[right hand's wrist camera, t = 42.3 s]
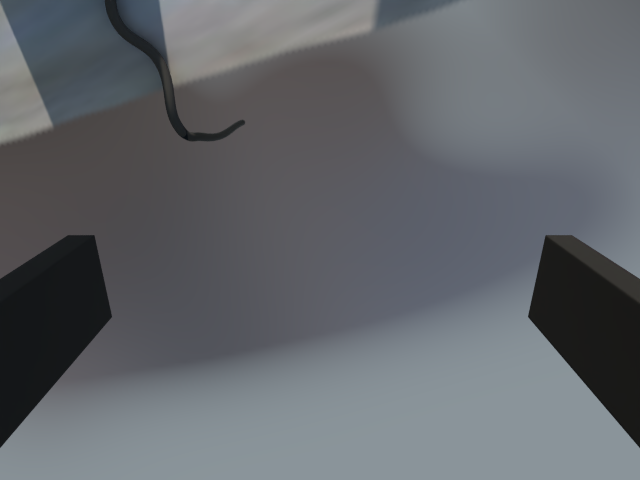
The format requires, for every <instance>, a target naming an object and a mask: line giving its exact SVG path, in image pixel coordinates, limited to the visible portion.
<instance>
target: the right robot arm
mask: <svg viewBox="0 0 640 480" xmlns="http://www.w3.org/2000/svg"><path fill="white" fill-rule="evenodd" d="M105 5H106V10H107V14H108V17H109V19H110V21H111V23H112V25H113V27H114V28H115V30H116V31H117V32H118V33H119V34H120V35H121V36H122V37H123V38H124V39H125V40H126V41H128V42H129V43H131V44H132V45H134V46H135V47H137V48H138V49H140V50H141V51H143V52H144V53H146V54H147V55H148V56H149V57H150V58H151V59H152V61H153V62H154V63H155V65H156V67H157V69H158V71H159V74H160V77H161V80H162V84H163V90H164V98H165V105H166V110H167V114H168V117H169V120H170V122H171V124H172V126H173V128H174V129H175V131H176V132H177V133H178V135H179V136H181V137H182V138H183V139H185V140H187V141H192V142H193V141H216V140H221V139H223V138H225V137H227V136H229V135H230V134H231V133H233V132H234V131H235V130H236V129H238V128H239V127H241V126H243V125H244V124H245V121H244V120H240V121H237V122H236V123H234V124H232V125H231V126H230V127H228V128H227V129H225V130H223V131H221V132H219V133H200V132H196V133H192V132H189V131H188V130H187V129H186V128H185V127H184V126H183V124H182V123H181V121H180V119H179V117H178V114H177V110H176V105H175V98H174V90H173V84H172V79H171V75H170V72H169V69H168V67H167V65H166V63H165V61H164V59H163V58H162V56H161V55H160V53H159V52H158V51H157V50H156V49H155V48H154V47H153V46H152V45H150V44H149V43H148V42H146V41H145V40H143V39H142V38H140V37H139V36H137V35H136V34H134V33H133V32H132V31H130V30H129V29H128V28H127V27H126V26H125V25H124V23H123V22H122V20H121V18H120V16H119V14H118V11H117V6H116V0H105ZM111 317H112V315H111V310H110V306H109V301H108V296H107V292H106V287H105V282H104V278H103V273H102V269H101V264H100V259H99V255H98V250H97V246H96V241H95V236H94V235H68V236H66V237H65V238H63V239H62V240H60V241H58V242H57V243H55V244H54V245H52V246H51V247H49V248H48V249H46V250H45V251H43V252H41V253H40V254H38V255H37V256H35V257H34V258H32V259H31V260H29V261H27V262H26V263H24V264H23V265H21V266H20V267H18V268H17V269H15V270H13V271H12V272H10V273H9V274H7V275H6V276H4V277H3V278H1V279H0V447H1V446H2V445H3V444H4V443H5V442H6V440H7V439H8V438H9V437H10V436H11V434H12V433H13V432H14V431H15V430H16V429H17V428H18V426H19V425H20V424H21V423H22V422H23V421H24V419H25V418H26V417H27V416H28V415H29V413H30V412H31V411H32V410H33V409H34V408H35V406H36V405H37V404H38V403H39V402H40V401H41V399H42V398H43V397H44V396H45V395H46V394H47V392H48V391H49V390H50V389H51V388H52V387H53V385H54V384H55V383H56V382H57V381H58V379H59V378H60V377H61V376H62V375H63V374H64V372H65V371H66V370H67V369H68V368H69V367H70V365H71V364H72V363H73V362H74V361H75V360H76V358H77V357H78V356H79V355H80V354H81V353H82V351H83V350H84V349H85V348H86V347H87V346H88V344H89V343H90V342H91V341H92V340H93V338H94V337H95V336H96V335H97V334H98V333H99V331H100V330H101V329H102V328H103V327H104V326H105V324H106V323H107V322H108V321H109V320H110V319H111ZM528 317H529V318H530V320H531V321H532V322H533V323H534V324H535V326H536V327H537V328H538V329H539V330H540V331H541V333H542V334H543V335H544V336H545V337H546V338H547V340H548V341H549V342H550V343H551V344H552V345H553V347H554V348H555V349H556V350H557V351H558V353H559V354H560V355H561V356H562V357H563V358H564V360H565V361H566V362H567V363H568V364H569V365H570V367H571V368H572V369H573V370H574V371H575V372H576V373H577V375H578V376H579V377H580V378H581V379H582V381H583V382H584V383H585V384H586V385H587V387H588V388H589V389H590V390H591V391H592V392H593V394H594V395H595V396H596V397H597V398H598V399H599V401H600V402H601V403H602V404H603V405H604V406H605V408H606V409H607V410H608V411H609V412H610V413H611V415H612V416H613V417H614V418H615V419H616V420H617V422H618V423H619V424H620V425H621V426H622V428H623V429H624V430H625V431H626V432H627V433H628V434H629V436H630V437H631V438H632V439H633V440H634V442H635V443H636V444H637V445H638V446H639V447H640V279H639V278H637V277H636V276H634V275H633V274H631V273H630V272H628V271H627V270H625V269H623V268H622V267H620V266H619V265H617V264H616V263H614V262H613V261H611V260H609V259H608V258H606V257H605V256H603V255H602V254H600V253H599V252H597V251H596V250H594V249H592V248H591V247H589V246H588V245H586V244H585V243H583V242H581V241H580V240H578V239H577V238H575V237H574V236H572V235H546V236H545V241H544V245H543V250H542V255H541V260H540V264H539V269H538V273H537V278H536V282H535V287H534V292H533V296H532V301H531V306H530V310H529V315H528Z"/></svg>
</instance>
